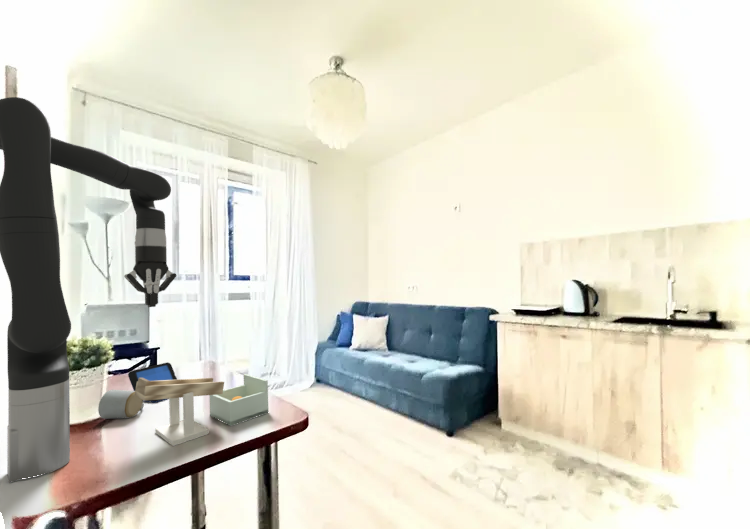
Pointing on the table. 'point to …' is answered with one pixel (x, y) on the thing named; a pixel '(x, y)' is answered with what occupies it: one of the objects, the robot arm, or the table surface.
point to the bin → (241, 401)
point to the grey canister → (119, 404)
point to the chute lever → (176, 388)
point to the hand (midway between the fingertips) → (151, 306)
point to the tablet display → (152, 375)
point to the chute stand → (181, 422)
